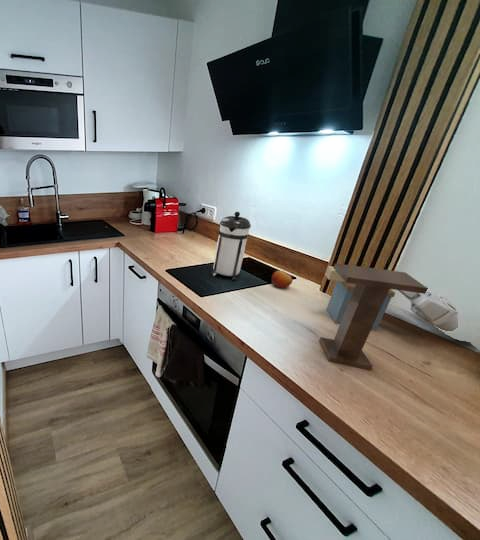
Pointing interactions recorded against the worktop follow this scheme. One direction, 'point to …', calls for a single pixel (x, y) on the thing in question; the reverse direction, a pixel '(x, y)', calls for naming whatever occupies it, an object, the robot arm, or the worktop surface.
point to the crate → (342, 299)
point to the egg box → (333, 274)
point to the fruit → (281, 279)
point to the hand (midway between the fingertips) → (393, 280)
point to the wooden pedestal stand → (363, 311)
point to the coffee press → (231, 245)
